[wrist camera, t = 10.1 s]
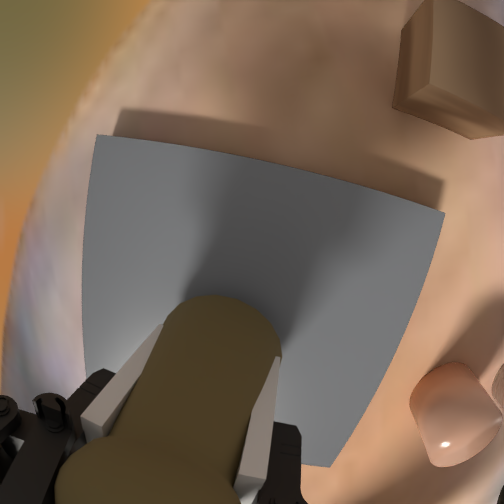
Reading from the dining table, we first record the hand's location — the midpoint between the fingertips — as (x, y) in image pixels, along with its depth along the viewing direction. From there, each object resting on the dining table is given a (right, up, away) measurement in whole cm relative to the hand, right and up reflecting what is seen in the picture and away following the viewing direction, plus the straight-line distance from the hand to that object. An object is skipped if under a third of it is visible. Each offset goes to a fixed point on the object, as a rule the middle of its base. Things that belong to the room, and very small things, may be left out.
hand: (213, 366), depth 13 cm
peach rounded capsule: (+15, -4, +3) cm, 16 cm away
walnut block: (+12, +14, -1) cm, 18 cm away
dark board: (+1, +1, +4) cm, 4 cm away
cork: (0, 0, +1) cm, 1 cm away
